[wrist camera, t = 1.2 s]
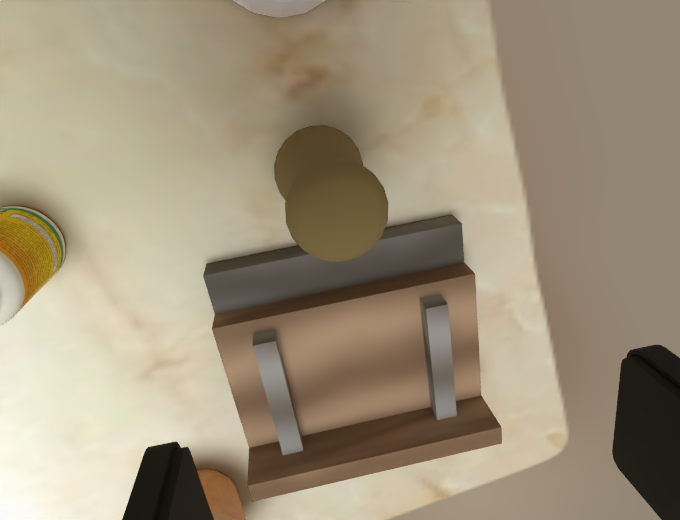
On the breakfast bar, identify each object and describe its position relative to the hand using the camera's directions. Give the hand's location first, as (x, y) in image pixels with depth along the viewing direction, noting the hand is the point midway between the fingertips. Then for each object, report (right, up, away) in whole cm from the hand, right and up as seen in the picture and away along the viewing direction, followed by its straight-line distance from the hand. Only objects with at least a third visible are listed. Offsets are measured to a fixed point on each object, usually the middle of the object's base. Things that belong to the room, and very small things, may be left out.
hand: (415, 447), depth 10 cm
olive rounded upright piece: (-3, +10, +23) cm, 25 cm away
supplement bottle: (-22, +5, +22) cm, 32 cm away
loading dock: (-1, -1, +28) cm, 28 cm away
